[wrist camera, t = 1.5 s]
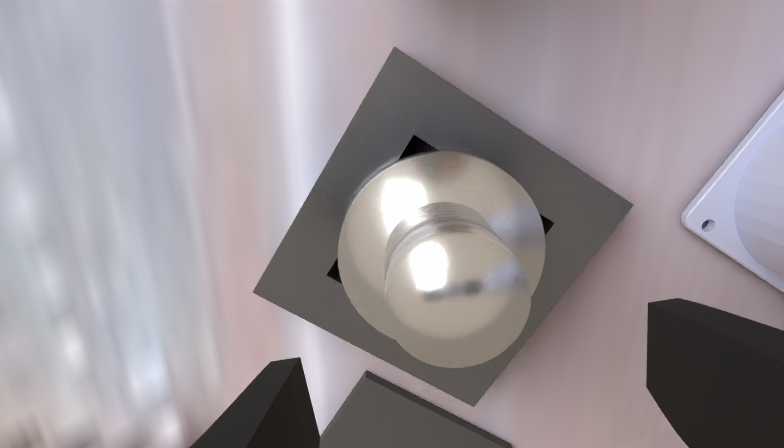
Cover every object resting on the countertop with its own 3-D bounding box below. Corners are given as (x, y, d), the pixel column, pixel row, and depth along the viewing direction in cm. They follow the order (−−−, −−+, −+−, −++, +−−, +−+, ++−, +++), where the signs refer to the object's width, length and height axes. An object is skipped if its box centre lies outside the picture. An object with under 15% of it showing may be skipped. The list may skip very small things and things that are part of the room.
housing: (606, 192, 18) (633, 204, 16) (465, 376, 21) (473, 407, 19) (392, 50, 16) (394, 46, 14) (265, 270, 19) (252, 292, 17)
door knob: (559, 204, 18) (644, 263, 12) (457, 341, 20) (489, 450, 14) (405, 106, 17) (418, 119, 11) (311, 261, 19) (278, 344, 13)
